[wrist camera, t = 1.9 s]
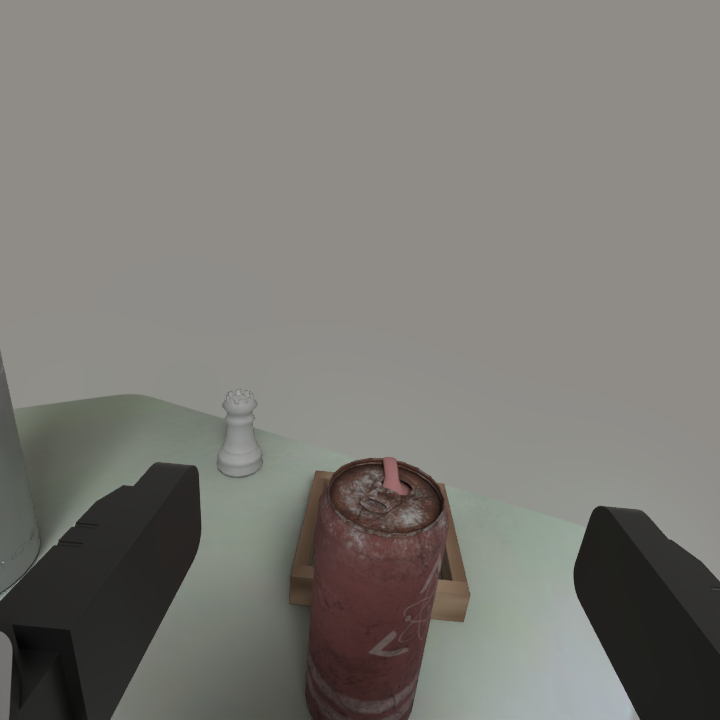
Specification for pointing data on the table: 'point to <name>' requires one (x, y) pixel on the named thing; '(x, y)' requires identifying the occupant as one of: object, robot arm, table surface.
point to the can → (373, 589)
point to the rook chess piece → (239, 437)
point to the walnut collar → (454, 583)
